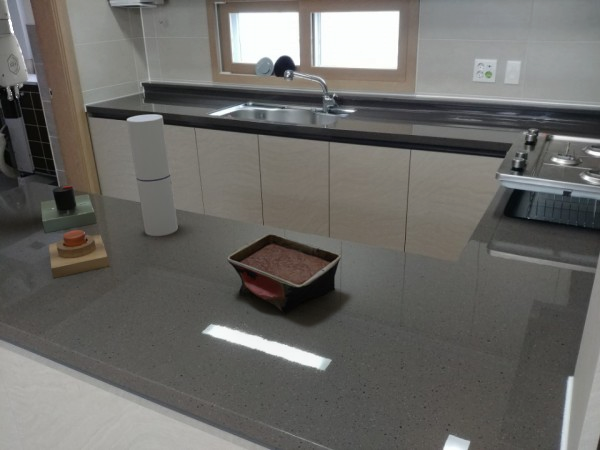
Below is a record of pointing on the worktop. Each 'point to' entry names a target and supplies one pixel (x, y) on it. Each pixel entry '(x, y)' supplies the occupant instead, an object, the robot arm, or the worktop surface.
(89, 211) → the panel
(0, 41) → the robot arm
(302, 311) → the worktop surface
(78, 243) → the button
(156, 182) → the cylindrical container
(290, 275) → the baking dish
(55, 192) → the knob
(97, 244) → the button block
